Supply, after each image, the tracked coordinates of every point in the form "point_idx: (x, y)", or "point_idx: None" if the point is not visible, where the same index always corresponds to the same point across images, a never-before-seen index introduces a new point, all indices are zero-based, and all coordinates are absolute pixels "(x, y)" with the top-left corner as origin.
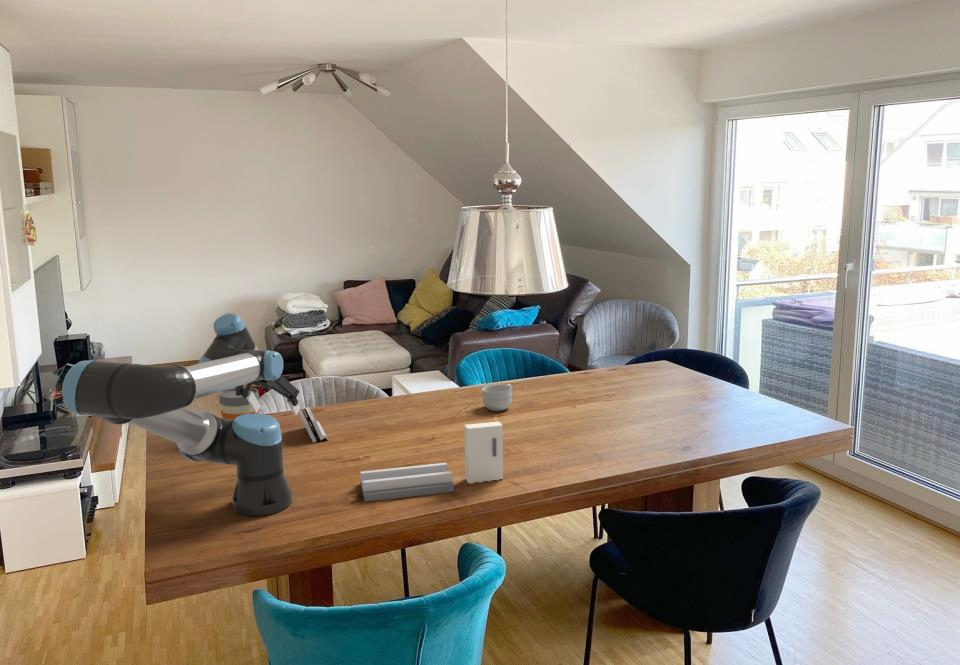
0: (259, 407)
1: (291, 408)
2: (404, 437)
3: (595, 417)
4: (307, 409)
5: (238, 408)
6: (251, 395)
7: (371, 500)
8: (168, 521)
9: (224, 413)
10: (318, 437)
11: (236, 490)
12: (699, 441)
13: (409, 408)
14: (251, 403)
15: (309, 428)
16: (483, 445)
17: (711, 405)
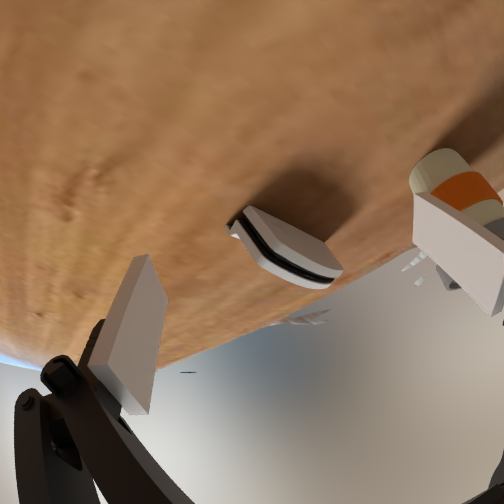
0: (415, 231)
1: (126, 293)
2: (112, 285)
3: (44, 349)
4: (310, 284)
5: (477, 221)
6: (489, 288)
7: None
8: None
9: (497, 198)
10: (242, 223)
11: None
12: None
13: (211, 323)
14: (469, 230)
15: (265, 236)
16: None
17: (29, 363)
